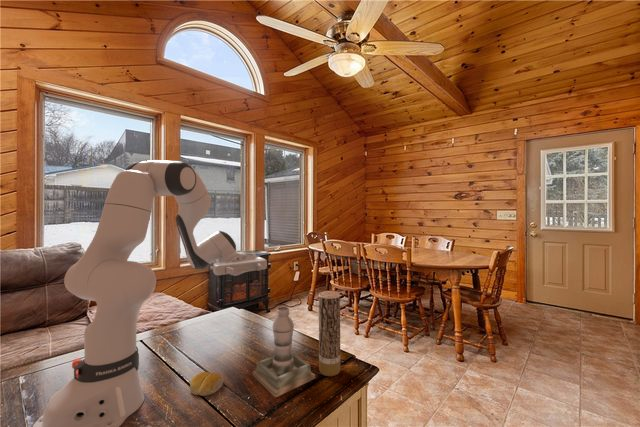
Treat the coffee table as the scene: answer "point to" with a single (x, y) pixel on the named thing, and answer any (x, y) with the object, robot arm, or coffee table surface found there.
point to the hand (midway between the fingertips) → (247, 269)
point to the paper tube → (329, 333)
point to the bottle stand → (283, 376)
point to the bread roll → (206, 383)
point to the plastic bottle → (283, 342)
